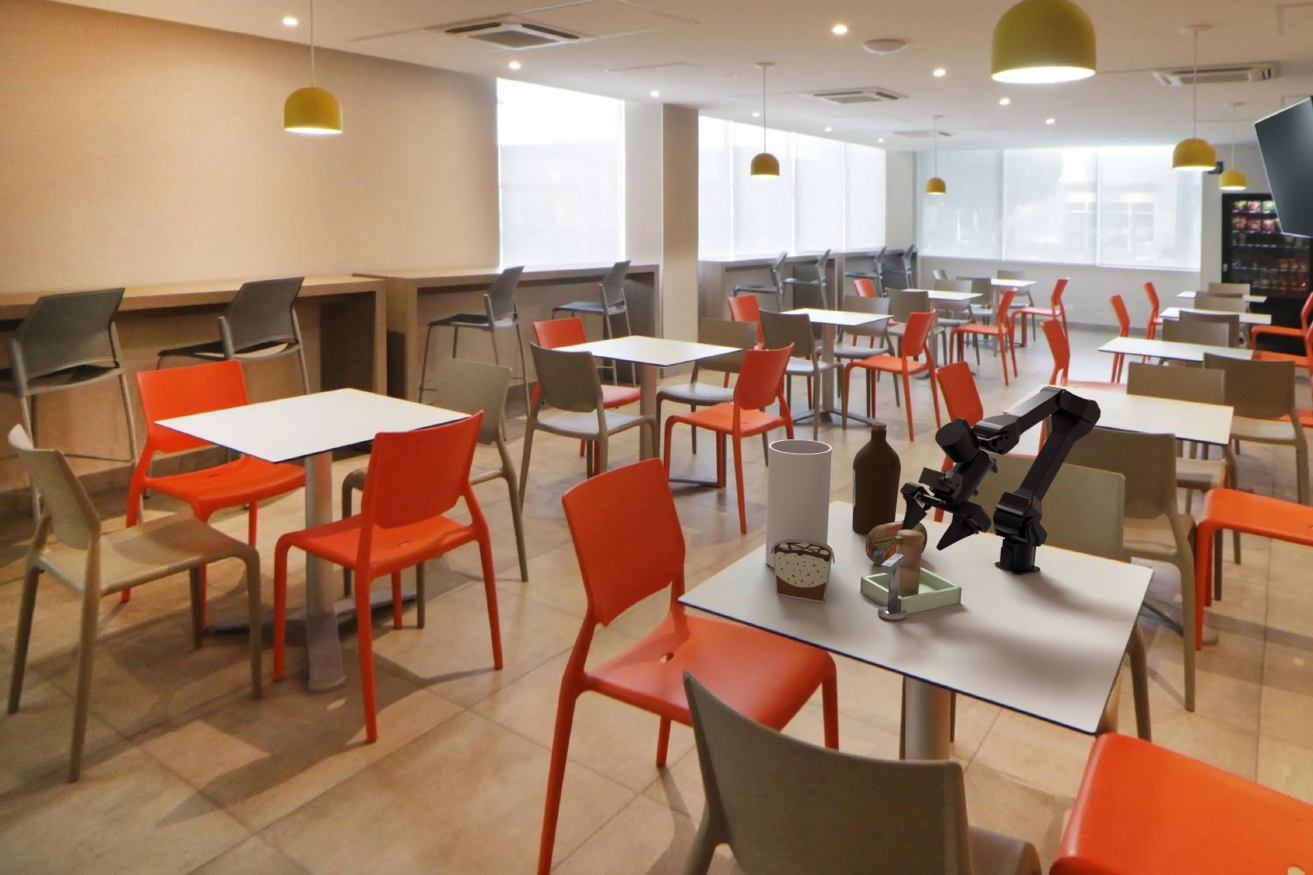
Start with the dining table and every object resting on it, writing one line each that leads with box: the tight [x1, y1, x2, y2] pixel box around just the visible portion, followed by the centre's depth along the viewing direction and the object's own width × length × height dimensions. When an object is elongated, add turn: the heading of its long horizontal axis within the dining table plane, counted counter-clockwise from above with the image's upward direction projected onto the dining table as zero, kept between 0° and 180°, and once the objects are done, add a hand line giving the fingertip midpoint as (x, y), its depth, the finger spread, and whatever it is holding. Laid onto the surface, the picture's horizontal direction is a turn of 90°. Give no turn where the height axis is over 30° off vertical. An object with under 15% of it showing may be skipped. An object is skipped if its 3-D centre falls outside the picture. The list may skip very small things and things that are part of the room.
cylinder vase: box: [765, 438, 833, 569], centre depth 194 cm, size 12×12×25 cm
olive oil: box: [851, 422, 902, 536], centre depth 215 cm, size 11×11×25 cm
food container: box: [770, 539, 836, 604], centre depth 180 cm, size 12×6×10 cm, turn 65°
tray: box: [859, 566, 963, 615], centre depth 179 cm, size 14×12×3 cm
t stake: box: [877, 553, 908, 622], centre depth 169 cm, size 8×5×11 cm, turn 146°
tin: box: [865, 519, 928, 566], centre depth 198 cm, size 15×3×8 cm, turn 117°
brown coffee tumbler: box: [894, 530, 923, 597], centre depth 177 cm, size 6×5×12 cm
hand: (919, 541), depth 178 cm, fingers open, 9 cm apart
